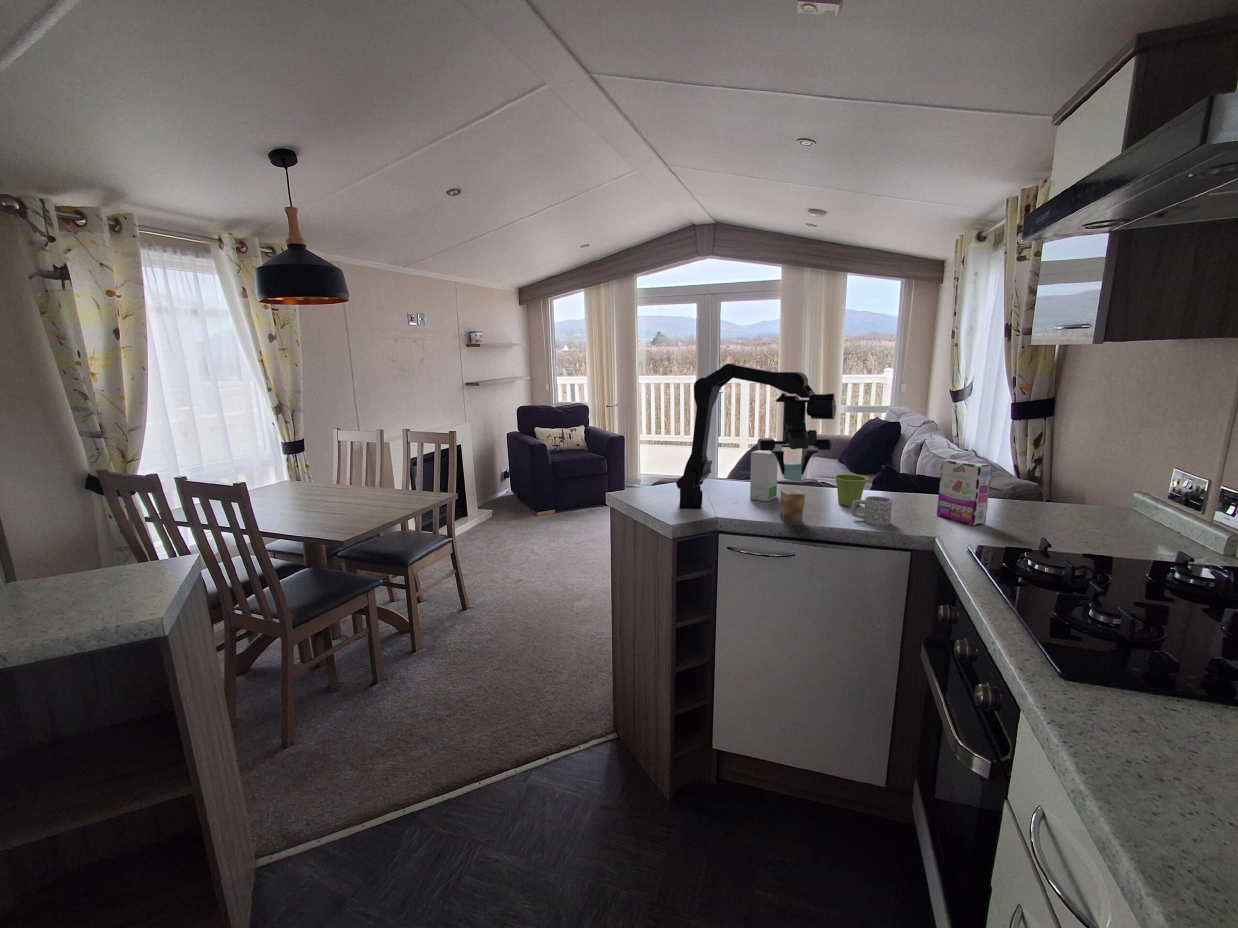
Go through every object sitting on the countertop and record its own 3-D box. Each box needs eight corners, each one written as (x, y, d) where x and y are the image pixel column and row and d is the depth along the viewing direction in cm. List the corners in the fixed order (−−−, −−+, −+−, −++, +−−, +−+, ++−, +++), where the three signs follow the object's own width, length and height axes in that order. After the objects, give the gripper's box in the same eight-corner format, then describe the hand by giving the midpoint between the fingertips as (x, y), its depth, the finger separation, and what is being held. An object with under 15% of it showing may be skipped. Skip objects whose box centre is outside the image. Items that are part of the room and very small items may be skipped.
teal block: (785, 479, 146) (785, 465, 145) (781, 476, 150) (782, 462, 149) (803, 479, 145) (803, 465, 144) (799, 476, 150) (799, 462, 149)
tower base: (783, 522, 148) (784, 508, 147) (780, 516, 152) (780, 503, 152) (802, 522, 147) (802, 508, 146) (798, 517, 152) (798, 503, 151)
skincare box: (767, 502, 168) (769, 453, 165) (748, 499, 172) (749, 452, 169) (777, 496, 175) (779, 450, 172) (758, 494, 179) (759, 448, 176)
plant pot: (859, 500, 168) (861, 474, 167) (870, 508, 159) (872, 480, 157) (829, 500, 169) (830, 474, 167) (838, 508, 160) (839, 480, 158)
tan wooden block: (785, 508, 146) (786, 494, 146) (780, 503, 151) (780, 490, 151) (803, 508, 146) (804, 494, 146) (797, 503, 151) (798, 489, 151)
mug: (891, 521, 147) (893, 497, 145) (889, 527, 141) (891, 503, 140) (852, 516, 152) (853, 493, 151) (848, 522, 146) (850, 499, 145)
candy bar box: (986, 524, 142) (993, 464, 139) (973, 526, 141) (980, 466, 138) (948, 513, 153) (954, 457, 150) (935, 515, 151) (941, 459, 148)
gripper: (764, 422, 138) (762, 480, 141) (838, 421, 136) (835, 480, 139) (757, 418, 149) (756, 472, 151) (826, 416, 147) (824, 472, 149)
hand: (792, 474), depth 147 cm, fingers closed on teal block, 5 cm apart
